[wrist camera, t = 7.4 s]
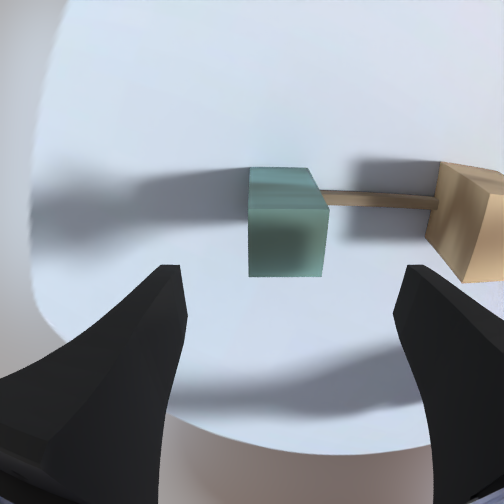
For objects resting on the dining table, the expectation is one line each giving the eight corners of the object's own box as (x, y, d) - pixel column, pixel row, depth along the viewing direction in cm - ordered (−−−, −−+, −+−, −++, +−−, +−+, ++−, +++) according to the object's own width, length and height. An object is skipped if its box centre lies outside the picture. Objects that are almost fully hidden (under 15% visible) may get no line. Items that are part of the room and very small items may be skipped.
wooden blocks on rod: (480, 238, 18) (523, 284, 14) (250, 235, 18) (248, 296, 14) (497, 171, 16) (551, 206, 11) (249, 148, 16) (247, 182, 11)
